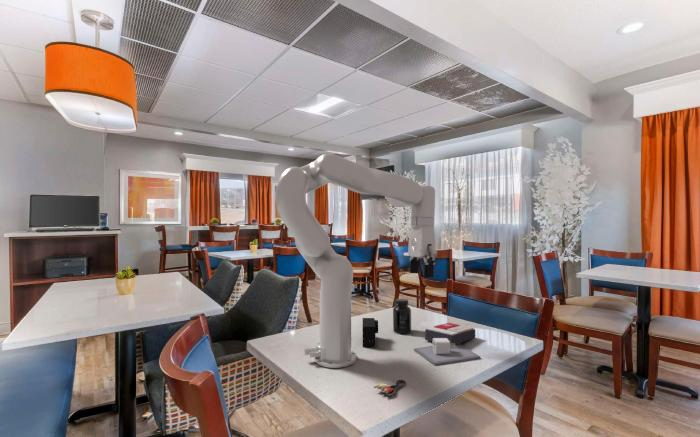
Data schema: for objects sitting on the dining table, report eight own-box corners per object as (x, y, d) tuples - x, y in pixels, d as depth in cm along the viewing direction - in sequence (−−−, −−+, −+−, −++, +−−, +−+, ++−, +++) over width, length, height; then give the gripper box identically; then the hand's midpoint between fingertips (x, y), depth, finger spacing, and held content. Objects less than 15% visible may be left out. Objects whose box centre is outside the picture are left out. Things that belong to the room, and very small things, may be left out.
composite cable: (401, 382, 85) (401, 372, 85) (415, 389, 81) (415, 379, 81) (372, 393, 79) (372, 383, 79) (385, 402, 75) (385, 391, 75)
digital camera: (379, 348, 108) (379, 326, 108) (362, 347, 108) (362, 326, 108) (377, 337, 118) (377, 317, 118) (362, 336, 118) (362, 317, 118)
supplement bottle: (414, 330, 125) (413, 299, 125) (407, 335, 119) (406, 302, 119) (397, 327, 129) (397, 297, 129) (390, 332, 123) (389, 300, 123)
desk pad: (434, 365, 94) (434, 363, 94) (413, 350, 105) (413, 348, 105) (480, 358, 99) (480, 356, 99) (456, 344, 110) (456, 342, 110)
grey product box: (475, 327, 116) (452, 333, 106) (475, 339, 115) (453, 347, 105) (448, 321, 124) (424, 327, 114) (448, 333, 123) (424, 339, 114)
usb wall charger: (432, 350, 104) (432, 337, 104) (454, 349, 104) (454, 337, 104) (436, 355, 100) (436, 342, 100) (458, 354, 100) (458, 341, 100)
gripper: (401, 222, 115) (399, 271, 115) (425, 222, 99) (423, 279, 98) (420, 223, 117) (418, 271, 117) (447, 223, 101) (445, 279, 100)
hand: (420, 275), depth 107 cm, fingers open, 9 cm apart
